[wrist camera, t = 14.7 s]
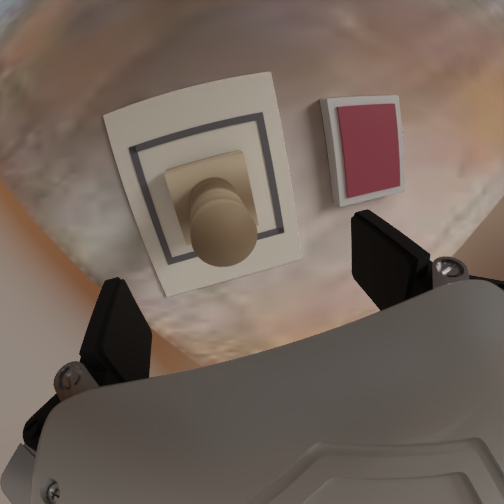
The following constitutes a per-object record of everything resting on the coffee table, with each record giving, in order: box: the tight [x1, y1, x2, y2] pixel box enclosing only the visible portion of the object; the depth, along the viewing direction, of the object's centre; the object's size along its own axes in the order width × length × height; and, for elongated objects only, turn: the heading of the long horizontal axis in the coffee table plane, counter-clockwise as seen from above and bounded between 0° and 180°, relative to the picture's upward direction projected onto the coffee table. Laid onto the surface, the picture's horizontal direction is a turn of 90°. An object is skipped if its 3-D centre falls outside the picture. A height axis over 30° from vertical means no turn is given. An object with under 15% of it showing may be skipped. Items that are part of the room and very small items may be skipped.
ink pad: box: [319, 95, 404, 207], centre depth 24 cm, size 10×8×2 cm
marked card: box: [103, 72, 302, 297], centre depth 24 cm, size 18×14×1 cm
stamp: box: [164, 150, 259, 267], centre depth 19 cm, size 6×6×10 cm
